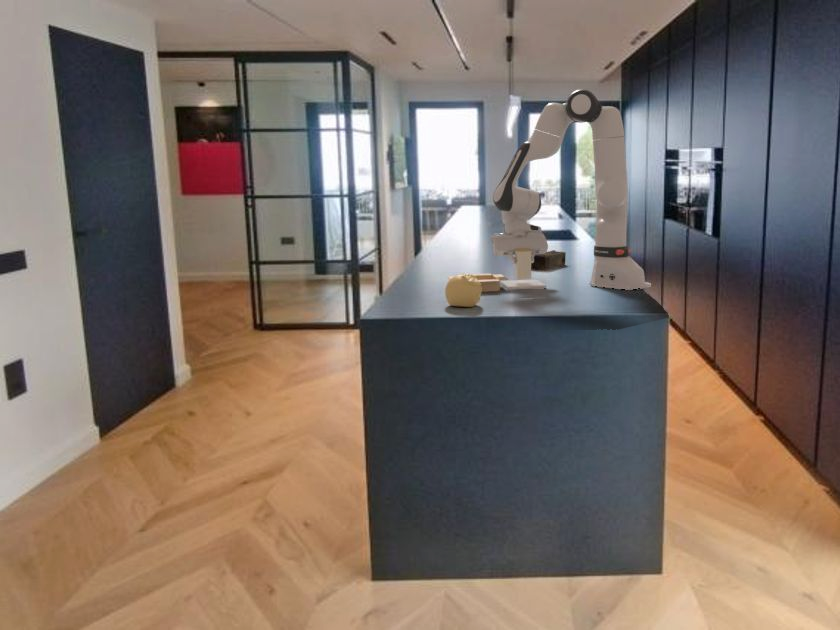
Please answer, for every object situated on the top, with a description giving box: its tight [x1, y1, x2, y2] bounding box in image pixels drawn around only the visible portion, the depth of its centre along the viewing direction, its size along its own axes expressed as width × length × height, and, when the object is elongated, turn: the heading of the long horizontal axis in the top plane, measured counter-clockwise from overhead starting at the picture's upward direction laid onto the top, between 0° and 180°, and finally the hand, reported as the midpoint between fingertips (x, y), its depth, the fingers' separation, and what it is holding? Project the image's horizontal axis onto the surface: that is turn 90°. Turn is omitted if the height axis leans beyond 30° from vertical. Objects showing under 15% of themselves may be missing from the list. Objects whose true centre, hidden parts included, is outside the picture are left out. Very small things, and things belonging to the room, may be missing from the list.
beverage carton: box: [531, 250, 567, 271], centre depth 323 cm, size 8×19×7 cm, turn 141°
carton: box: [447, 272, 509, 293], centre depth 273 cm, size 17×20×4 cm
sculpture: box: [444, 272, 483, 308], centre depth 245 cm, size 11×12×11 cm
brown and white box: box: [514, 248, 532, 280], centre depth 277 cm, size 5×5×11 cm
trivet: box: [500, 278, 547, 290], centre depth 279 cm, size 14×14×1 cm
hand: (523, 262), depth 276 cm, fingers closed on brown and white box, 5 cm apart
